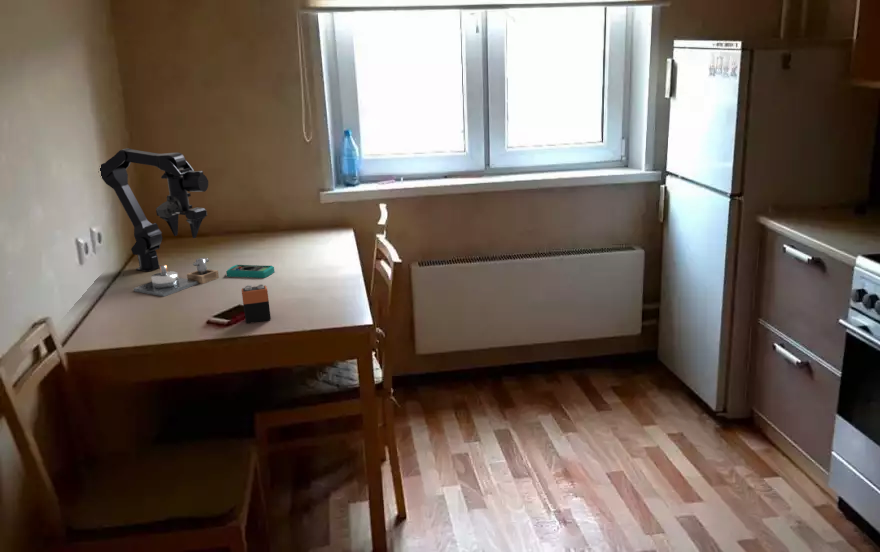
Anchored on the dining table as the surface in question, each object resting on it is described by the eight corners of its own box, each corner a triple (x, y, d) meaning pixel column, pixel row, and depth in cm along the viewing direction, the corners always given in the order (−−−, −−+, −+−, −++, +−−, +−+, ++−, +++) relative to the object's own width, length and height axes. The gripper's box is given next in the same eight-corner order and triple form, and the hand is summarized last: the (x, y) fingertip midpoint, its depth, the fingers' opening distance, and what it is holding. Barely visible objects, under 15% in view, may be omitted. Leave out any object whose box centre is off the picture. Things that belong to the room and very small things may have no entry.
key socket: (187, 281, 256) (186, 274, 255) (204, 275, 261) (203, 268, 260) (202, 283, 252) (201, 276, 251) (218, 277, 258) (217, 270, 257)
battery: (245, 319, 217) (240, 285, 215) (269, 315, 219) (265, 281, 216) (245, 324, 213) (241, 289, 211) (271, 320, 215) (267, 286, 212)
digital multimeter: (236, 271, 266) (235, 263, 265) (275, 273, 262) (274, 264, 261) (225, 278, 259) (223, 269, 258) (265, 279, 255) (264, 271, 254)
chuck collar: (179, 285, 248) (176, 267, 246) (153, 289, 245) (150, 271, 243) (177, 272, 262) (174, 255, 260) (152, 276, 259) (149, 259, 257)
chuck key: (193, 281, 255) (189, 261, 253) (207, 276, 260) (204, 256, 258) (199, 282, 253) (196, 262, 251) (213, 277, 258) (210, 257, 256)
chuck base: (133, 291, 248) (133, 288, 248) (168, 278, 259) (168, 276, 259) (163, 296, 241) (163, 293, 241) (198, 283, 252) (197, 280, 252)
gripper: (139, 194, 258) (147, 240, 263) (178, 197, 249) (185, 245, 253) (166, 188, 267) (173, 232, 272) (205, 191, 258) (211, 236, 262)
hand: (185, 236), depth 264 cm, fingers open, 9 cm apart
